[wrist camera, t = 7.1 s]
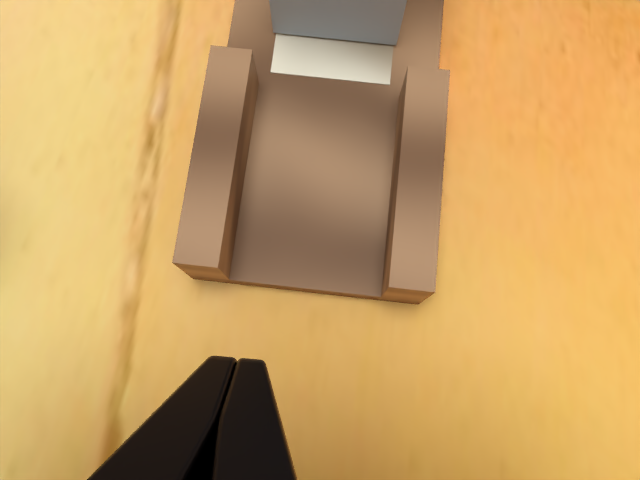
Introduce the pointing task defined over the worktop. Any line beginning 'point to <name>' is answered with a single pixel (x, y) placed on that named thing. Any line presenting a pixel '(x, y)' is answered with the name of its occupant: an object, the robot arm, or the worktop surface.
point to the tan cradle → (319, 160)
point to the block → (340, 19)
